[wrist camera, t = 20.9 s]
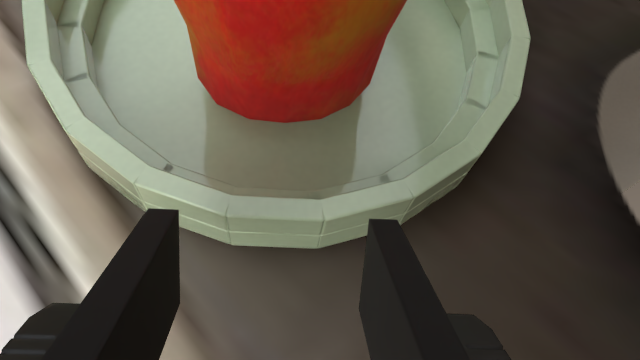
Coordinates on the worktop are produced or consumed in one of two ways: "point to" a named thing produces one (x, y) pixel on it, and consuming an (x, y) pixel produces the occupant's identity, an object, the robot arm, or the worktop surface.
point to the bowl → (275, 137)
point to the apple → (287, 53)
